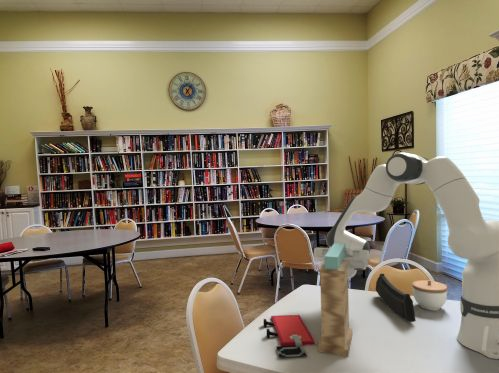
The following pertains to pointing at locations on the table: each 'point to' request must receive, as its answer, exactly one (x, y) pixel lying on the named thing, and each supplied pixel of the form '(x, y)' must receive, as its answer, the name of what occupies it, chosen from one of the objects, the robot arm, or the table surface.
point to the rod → (335, 256)
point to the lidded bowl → (429, 294)
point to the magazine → (395, 299)
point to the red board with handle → (290, 334)
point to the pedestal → (335, 310)
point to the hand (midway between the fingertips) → (338, 249)
